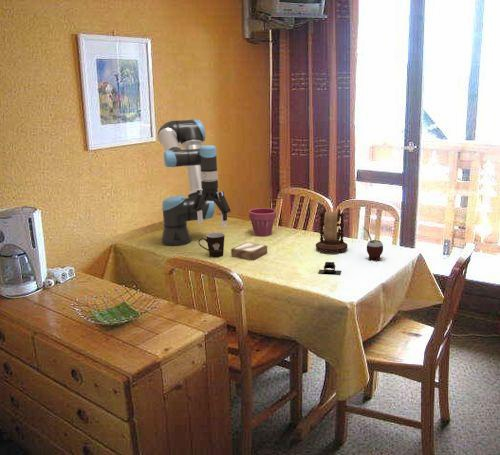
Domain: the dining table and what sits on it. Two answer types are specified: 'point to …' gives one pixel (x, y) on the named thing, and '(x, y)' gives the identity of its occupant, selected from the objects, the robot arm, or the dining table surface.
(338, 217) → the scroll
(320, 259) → the dining table surface
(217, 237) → the coffee mug
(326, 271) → the black hat
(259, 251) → the plinth
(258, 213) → the plant pot
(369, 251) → the mate gourd
